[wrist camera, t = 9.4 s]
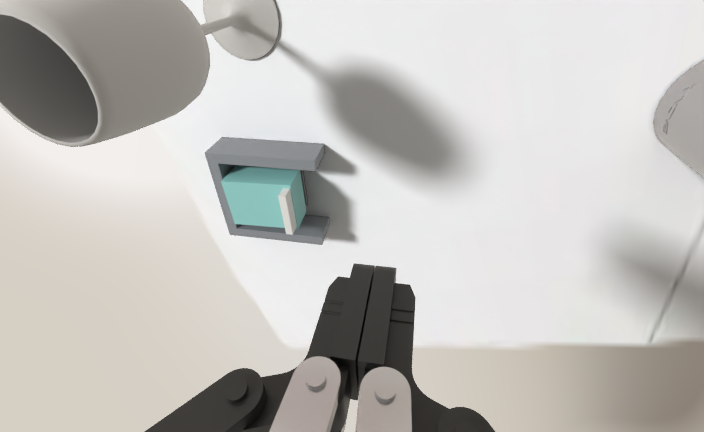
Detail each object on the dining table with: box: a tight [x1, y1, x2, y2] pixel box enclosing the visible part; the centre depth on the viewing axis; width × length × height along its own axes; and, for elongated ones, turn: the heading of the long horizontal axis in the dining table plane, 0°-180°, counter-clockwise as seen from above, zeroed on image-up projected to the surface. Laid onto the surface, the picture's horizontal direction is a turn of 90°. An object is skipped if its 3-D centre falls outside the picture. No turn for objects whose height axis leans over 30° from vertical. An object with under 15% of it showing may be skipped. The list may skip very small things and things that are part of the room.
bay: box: [205, 137, 329, 245], centre depth 40 cm, size 12×12×4 cm
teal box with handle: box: [221, 165, 308, 235], centre depth 40 cm, size 8×6×6 cm
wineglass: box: [0, 0, 279, 147], centre depth 23 cm, size 8×8×21 cm
